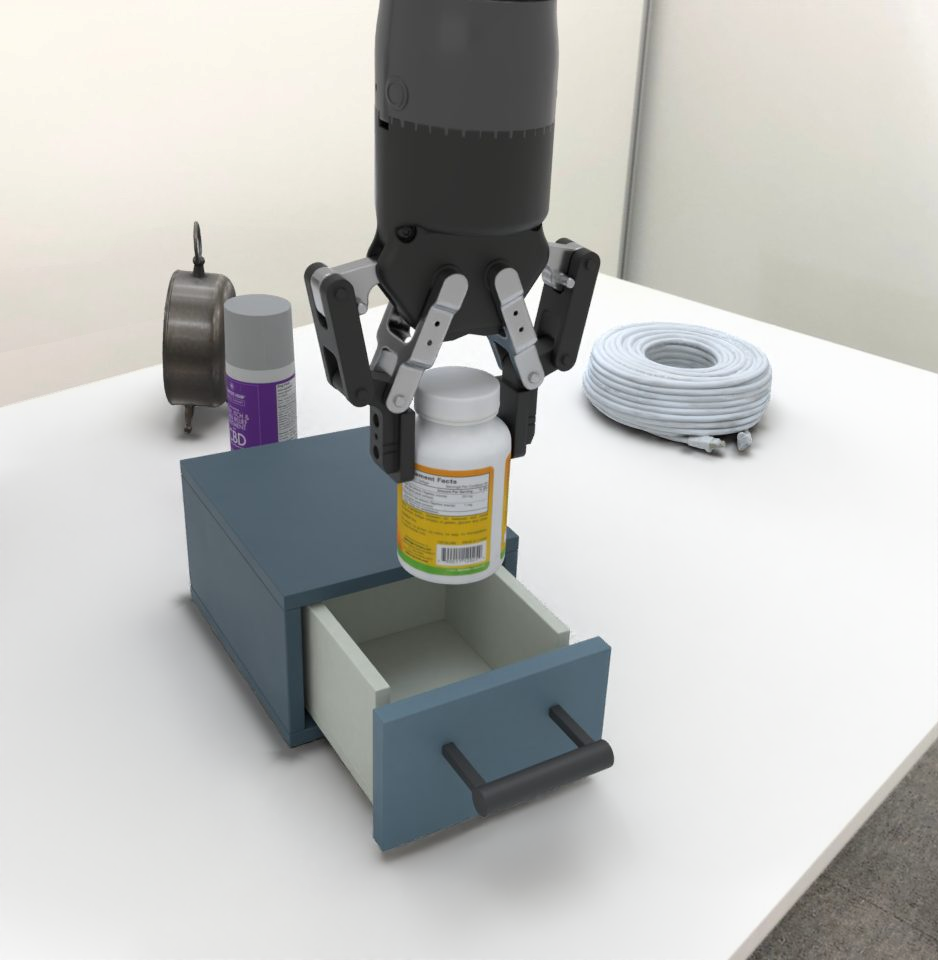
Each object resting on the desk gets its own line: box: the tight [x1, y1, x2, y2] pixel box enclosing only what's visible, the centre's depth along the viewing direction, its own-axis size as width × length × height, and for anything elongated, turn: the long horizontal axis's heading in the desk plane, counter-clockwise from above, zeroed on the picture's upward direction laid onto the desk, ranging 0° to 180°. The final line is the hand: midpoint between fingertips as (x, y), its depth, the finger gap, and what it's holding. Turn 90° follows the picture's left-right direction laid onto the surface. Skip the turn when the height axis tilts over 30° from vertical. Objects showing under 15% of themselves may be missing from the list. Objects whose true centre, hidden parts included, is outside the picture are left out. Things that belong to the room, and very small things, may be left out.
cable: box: [581, 321, 773, 454], centre depth 110 cm, size 18×18×6 cm
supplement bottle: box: [397, 365, 512, 584], centre depth 58 cm, size 5×5×10 cm
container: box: [224, 293, 299, 451], centre depth 85 cm, size 5×5×15 cm
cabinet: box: [179, 425, 520, 749], centre depth 72 cm, size 17×14×10 cm
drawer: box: [301, 565, 615, 853], centre depth 63 cm, size 20×13×8 cm, turn 36°
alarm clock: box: [161, 220, 237, 434], centre depth 97 cm, size 11×5×16 cm, turn 10°
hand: (453, 462), depth 58 cm, fingers closed on supplement bottle, 5 cm apart
